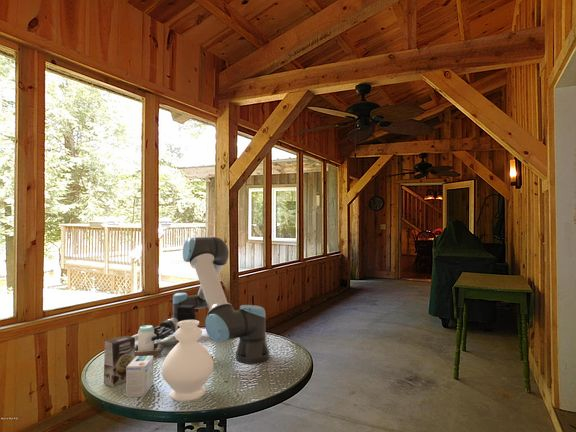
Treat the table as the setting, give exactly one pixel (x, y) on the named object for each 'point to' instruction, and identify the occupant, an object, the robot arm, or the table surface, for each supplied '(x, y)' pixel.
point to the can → (142, 334)
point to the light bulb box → (139, 376)
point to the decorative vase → (187, 364)
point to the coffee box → (118, 359)
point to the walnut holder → (149, 353)
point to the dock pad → (168, 341)
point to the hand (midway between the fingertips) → (139, 340)
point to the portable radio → (185, 313)
